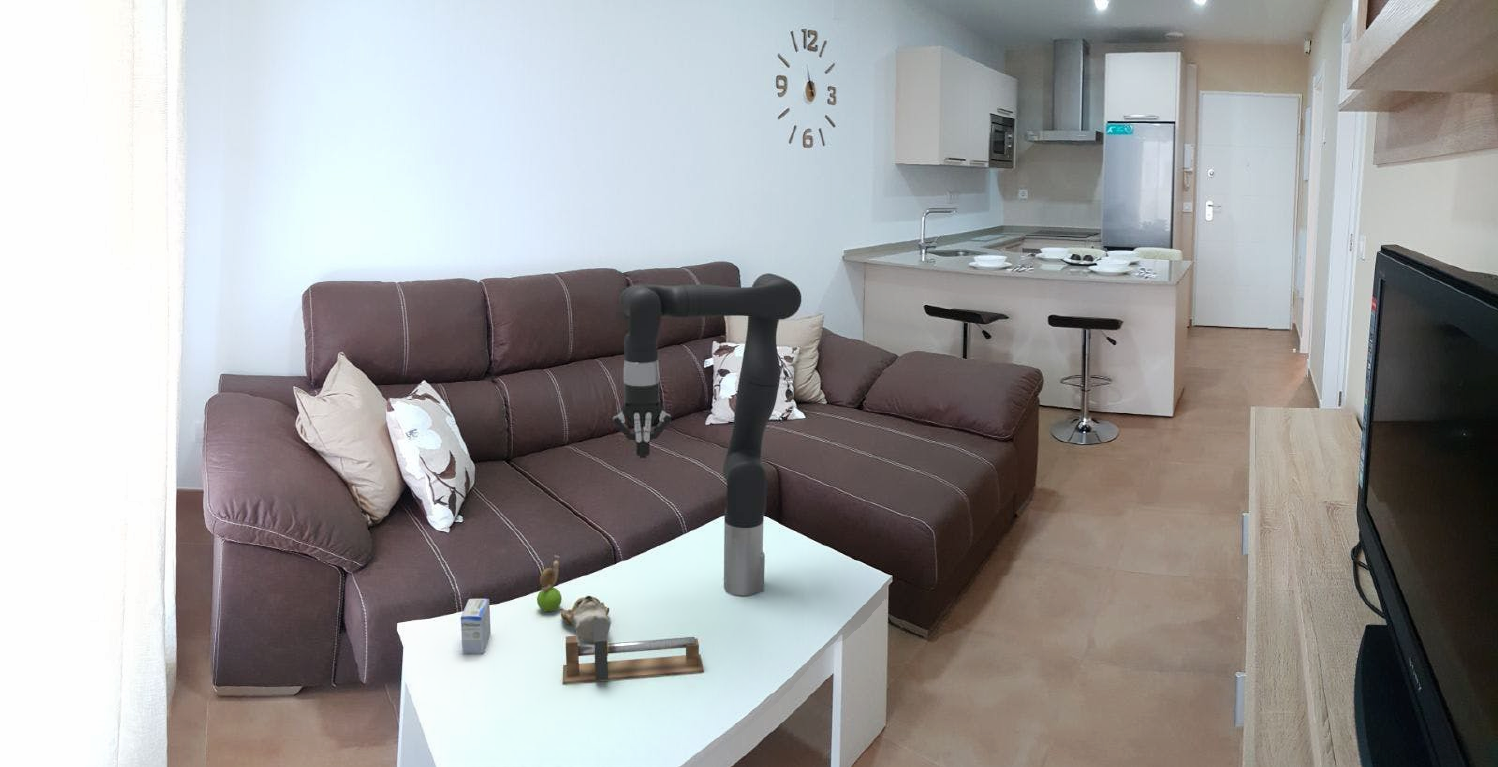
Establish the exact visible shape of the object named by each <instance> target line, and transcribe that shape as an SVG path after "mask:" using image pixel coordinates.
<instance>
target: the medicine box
mask: <svg viewBox="0 0 1498 767" xmlns="http://www.w3.org/2000/svg"><path fill="white" fill-rule="evenodd" d="M490 611H491V610H490V599H489V598H469V599H467V602H466V605H465V606H464V609H463V612H462V614H461V616H460V627H461V628H460V631H461V632H460V633H461V646H462V653H463V654H464V655H465V654H473V655H474V654H484V653H485V650H486V647H487V645H488V642H489V638H490V636H491V612H490Z"/></svg>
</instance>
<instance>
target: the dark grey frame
mask: <svg viewBox="0 0 1498 767" xmlns="http://www.w3.org/2000/svg"><path fill="white" fill-rule="evenodd" d="M607 642H608V634H606V619H604V620H594V642H593V643H594V644H593V645H595V655H594V663H595V678H596V680H602V679H608V662H607V661H608V655H607Z"/></svg>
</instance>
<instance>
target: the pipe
mask: <svg viewBox="0 0 1498 767" xmlns="http://www.w3.org/2000/svg"><path fill="white" fill-rule="evenodd" d="M695 638H696V637H695V636H686V637H685V636H684V637H674V638H661V639H660V638H659V639H650V640H649V639H647V640H636V641H635V640H634V641H623V642H622V641H621V642H611V643H610V642H608V641H607V656H609V654H610V655H611V654H612V655H613V654H622V653H623V654H624V653H625V654H626V653H633V652H634V653H636V652H647V651H648V652H649V651H660V650H661V651H662V650H673V649H686V648H687V645H694V644H695ZM578 656H579V657H584V656H585V657H587V656H595V645H594V644H585V645H584V644H583V645H578Z"/></svg>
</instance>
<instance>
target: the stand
mask: <svg viewBox="0 0 1498 767" xmlns="http://www.w3.org/2000/svg"><path fill="white" fill-rule="evenodd" d="M578 646H579V637H578V635H577V634H576V635H567V636H566V635H565V660H566V661H565V662H566V663H565V664H563V665H562V685H571V684H583V683H584V684H585V683H593V682H595V683H596V682H605V681H607V682H608V681H618V680H620V681H621V680H630V679H641V678H652V677H665V676H666V677H667V676H679V675H688V674H689V675H690V674H702V673H705V668H704V664H703V660H702V656H701V654H700V644H699V639H698V637H695V644H694V645H687V648H685V655H684V654H683V655H672V656H660V657H659V656H658V657H647V658H634V659H622V660H621V659H620V660H610V661H609V660H607V662H608V679H602V680H596V678H595V662H586V663H580V660H579V657H580V656H578Z"/></svg>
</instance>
